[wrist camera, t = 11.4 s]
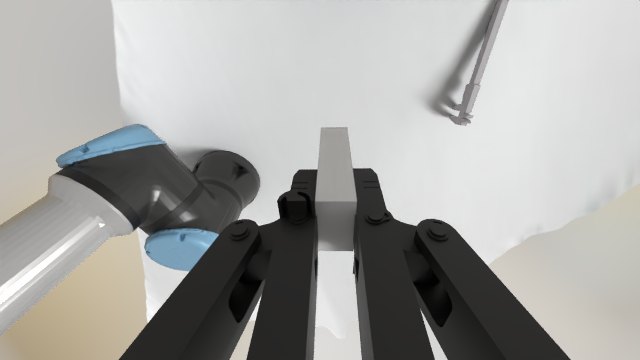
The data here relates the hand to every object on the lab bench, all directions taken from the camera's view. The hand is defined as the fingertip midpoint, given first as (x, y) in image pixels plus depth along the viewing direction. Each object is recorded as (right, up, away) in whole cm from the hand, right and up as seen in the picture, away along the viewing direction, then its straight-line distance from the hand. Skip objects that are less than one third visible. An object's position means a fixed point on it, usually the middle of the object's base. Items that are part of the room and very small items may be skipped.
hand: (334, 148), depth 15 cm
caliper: (+26, +19, +28) cm, 43 cm away
